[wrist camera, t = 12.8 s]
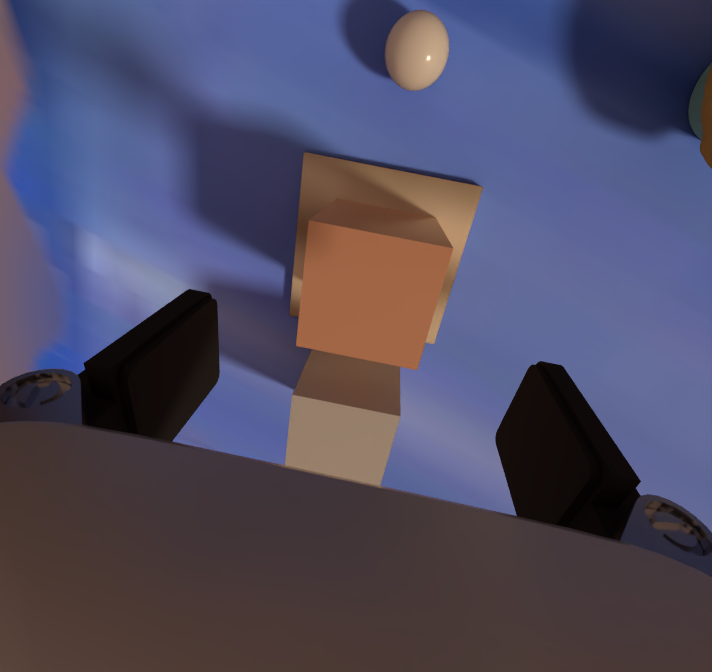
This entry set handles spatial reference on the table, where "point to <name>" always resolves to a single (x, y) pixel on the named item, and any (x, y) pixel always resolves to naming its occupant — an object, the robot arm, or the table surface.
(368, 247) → the peach colored cube
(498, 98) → the table surface
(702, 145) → the cupcake
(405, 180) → the birch board
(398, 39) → the cream marble
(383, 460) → the beige block
